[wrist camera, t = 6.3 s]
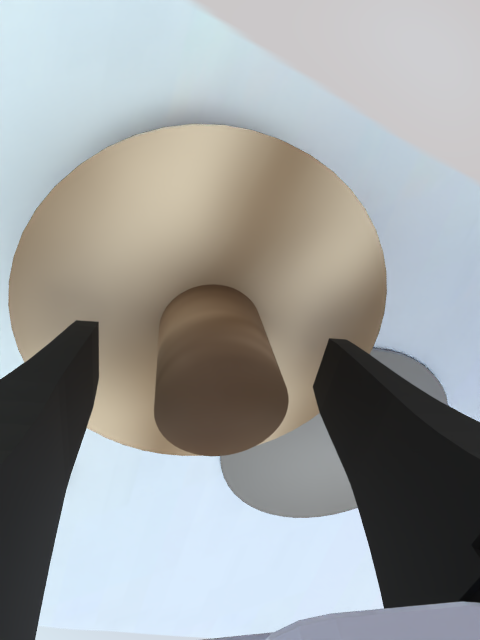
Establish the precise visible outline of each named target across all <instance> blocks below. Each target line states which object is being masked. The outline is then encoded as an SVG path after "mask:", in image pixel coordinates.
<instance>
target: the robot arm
mask: <svg viewBox="0 0 480 640" xmlns="http://www.w3.org/2000/svg"><path fill="white" fill-rule="evenodd" d="M98 381H99V322H95V321H81V320H76V321H75V322H73V323H72V324H71V325H70V326H68V327H67V328H66V329H65V330H64V331H63V332H62V333H60V334H59V335H58V336H57V337H56V338H55V339H53V340H52V341H51V342H50V343H49V344H47V345H46V346H45V347H44V348H42V349H41V350H40V351H39V352H37V353H36V354H35V355H34V356H33V357H31V358H30V359H29V360H27V361H26V362H25V363H23V364H22V365H20V366H19V367H18V368H16V369H15V370H13V371H12V372H11V373H9V374H8V375H6V376H5V377H3V378H2V379H0V640H35V636H36V631H37V626H38V621H39V615H40V610H41V605H42V600H43V595H44V591H45V586H46V581H47V576H48V571H49V566H50V561H51V556H52V552H53V547H54V542H55V538H56V533H57V528H58V524H59V519H60V515H61V511H62V506H63V502H64V497H65V493H66V489H67V486H68V482H69V479H70V475H71V472H72V469H73V466H74V463H75V460H76V457H77V454H78V451H79V449H80V446H81V443H82V440H83V437H84V434H85V431H86V428H87V425H88V422H89V419H90V416H91V413H92V410H93V406H94V401H95V396H96V391H97V386H98ZM313 390H314V394H315V398H316V402H317V405H318V409H319V412H320V415H321V417H322V420H323V422H324V424H325V427H326V429H327V431H328V434H329V436H330V438H331V441H332V443H333V445H334V447H335V450H336V452H337V454H338V456H339V459H340V461H341V463H342V465H343V468H344V470H345V472H346V475H347V477H348V480H349V482H350V485H351V488H352V491H353V494H354V497H355V500H356V503H357V507H358V510H359V513H360V516H361V519H362V523H363V526H364V530H365V533H366V537H367V540H368V544H369V547H370V551H371V555H372V559H373V563H374V567H375V571H376V575H377V579H378V583H379V587H380V592H381V596H382V601H383V606H384V609H376V610H365V611H354V612H343V613H333V614H327V615H322V616H318V617H313V618H308V619H304V620H299V621H297V622H295V623H293V624H290V625H288V626H286V627H284V628H282V629H280V630H278V631H276V632H273V633H263V634H253V635H243V636H234V637H224V638H214V639H204V640H480V422H478V421H476V420H474V419H472V418H470V417H468V416H466V415H464V414H462V413H460V412H458V411H457V410H455V409H453V408H451V407H449V406H448V405H446V404H444V403H442V402H440V401H439V400H437V399H435V398H434V397H432V396H430V395H429V394H427V393H425V392H424V391H422V390H421V389H419V388H418V387H416V386H414V385H413V384H411V383H410V382H408V381H407V380H405V379H404V378H402V377H401V376H399V375H398V374H397V373H395V372H394V371H392V370H391V369H389V368H388V367H387V366H385V365H384V364H382V363H381V362H380V361H378V360H377V359H375V358H374V357H373V356H371V355H370V354H368V353H367V352H365V351H364V350H362V349H361V348H360V347H358V346H356V345H355V344H353V343H352V342H350V341H348V340H346V339H333V338H329V340H328V343H327V346H326V349H325V352H324V355H323V358H322V361H321V364H320V366H319V369H318V372H317V375H316V378H315V381H314V384H313Z"/></svg>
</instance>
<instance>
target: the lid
mask: <svg viewBox="0 0 480 640" xmlns="http://www.w3.org/2000/svg"><path fill="white" fill-rule="evenodd" d="M386 294H387V284H386V267H385V262H384V256H383V250H382V247H381V244H380V241H379V238H378V235H377V232H376V229H375V227H374V225H373V223H372V222H371V220H370V218H369V216H368V214H367V212H366V210H365V208H364V207H363V205H362V204H361V203H360V201H359V200H358V199H357V197H356V196H355V195H354V193H353V192H352V190H351V189H350V188H349V187H348V186H347V185H346V184H345V183H344V182H343V181H342V180H341V179H340V178H339V177H338V176H337V175H336V174H335V173H334V172H333V171H332V170H330V169H329V168H328V167H326V166H325V165H323V164H322V163H321V162H319V161H318V160H317V159H315V158H314V157H312V156H311V155H309V154H307V153H305V152H304V151H302V150H300V149H298V148H296V147H294V146H292V145H290V144H288V143H286V142H284V141H282V140H280V139H277V138H274V137H271V136H268V135H265V134H262V133H259V132H257V131H254V130H250V129H244V128H239V127H233V126H227V125H216V124H188V125H179V126H170V127H163V128H159V129H155V130H152V131H148V132H144V133H140V134H137V135H134V136H131V137H129V138H127V139H125V140H122V141H120V142H118V143H115V144H113V145H111V146H108V147H107V148H105V149H104V150H102V151H100V152H99V153H97V154H96V155H94V156H92V157H91V158H89V159H88V160H86V161H85V162H83V163H82V164H80V165H79V166H78V167H77V168H75V169H74V170H73V171H72V172H71V173H70V174H69V175H67V176H66V177H65V178H64V179H63V180H62V181H61V182H59V183H58V184H57V185H56V186H55V187H54V188H53V189H52V191H51V192H50V193H49V194H48V195H47V197H46V198H45V199H44V200H43V201H42V203H41V204H40V205H39V206H38V208H37V209H36V210H35V212H34V214H33V216H32V217H31V219H30V221H29V223H28V224H27V226H26V228H25V229H24V231H23V233H22V236H21V239H20V241H19V244H18V247H17V249H16V252H15V255H14V258H13V263H12V268H11V273H10V279H9V303H8V306H9V313H10V319H11V326H12V331H13V334H14V337H15V340H16V343H17V347H18V350H19V352H20V354H21V356H22V358H23V360H24V362H26V361H27V360H29V359H30V358H31V357H33V356H34V355H35V354H36V353H37V352H39V351H40V350H41V349H42V348H44V347H45V346H46V345H47V344H49V343H50V342H51V341H52V340H53V339H55V338H56V337H57V336H58V335H59V334H60V333H62V332H63V331H64V330H65V329H66V328H67V327H68V326H70V325H71V324H72V323H73V322H75V321H76V320H81V321H95V322H99V381H98V386H97V391H96V396H95V401H94V406H93V410H92V413H91V416H90V419H89V422H88V425H87V428H88V429H90V430H92V431H94V432H96V433H98V434H100V435H101V436H103V437H105V438H108V439H110V440H113V441H115V442H118V443H120V444H123V445H126V446H130V447H133V448H137V449H140V450H144V451H150V452H155V453H160V454H170V455H181V456H202V455H203V456H224V455H231V454H235V453H239V452H242V451H245V450H248V449H250V448H252V447H254V446H257V445H260V444H263V443H265V442H268V441H271V440H274V439H276V438H278V437H280V436H282V435H284V434H287V433H289V432H291V431H293V430H294V429H296V428H298V427H299V426H301V425H303V424H304V423H306V422H308V421H309V420H311V419H312V418H314V417H315V416H316V415H318V414H319V413H320V412H319V409H318V405H317V402H316V398H315V394H314V390H313V384H314V381H315V378H316V375H317V372H318V369H319V366H320V364H321V361H322V358H323V355H324V352H325V349H326V346H327V343H328V340H329V338H333V339H346V340H348V341H350V342H352V343H353V344H355V345H356V346H358V347H360V348H361V349H362V350H364V351H365V352H367V353H368V354H370V352H371V351H372V348H373V346H374V344H375V341H376V339H377V336H378V334H379V331H380V327H381V323H382V319H383V316H384V311H385V302H386Z"/></svg>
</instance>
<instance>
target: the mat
mask: <svg viewBox="0 0 480 640" xmlns="http://www.w3.org/2000/svg"><path fill="white" fill-rule="evenodd" d="M370 355H371V356H373V357H374V358H375V359H377V360H378V361H380V362H381V363H382V364H384V365H385V366H387V367H388V368H389V369H391V370H392V371H394V372H395V373H397V374H398V375H399V376H401V377H402V378H404V379H405V380H407V381H408V382H410V383H411V384H413V385H414V386H416V387H418V388H419V389H421V390H422V391H424V392H425V393H427V394H429V395H430V396H432V397H434V398H435V399H437V400H439V401H440V402H442V403H444V404H446V405H448V403H447V398H446V394H445V392H444V390H443V387H442V386H441V384H440V383H439V381H438V380H437V378H436V377H435V376H434V375H433V374H432V373H431V372H430V371H429V370H428V369H427V368H426V367H425V366H424V365H422V364H421V363H419V362H418V361H416V360H415V359H413V358H411V357H408V356H406V355H404V354H401V353H398V352H394V351H390V350H385V349H377V348H372V351H371V352H370ZM220 459H221V468H222V472H223V475H224V478H225V480H226V482H227V484H228V486H229V487H230V489H231V490H232V491H233V493H234V494H235V495H236V496H237V497H238V498H240V499H241V500H242V501H243V502H245V503H246V504H248V505H249V506H251V507H253V508H255V509H258V510H260V511H263V512H266V513H269V514H273V515H278V516H283V517H293V518H309V517H321V516H327V515H333V514H337V513H342V512H345V511H349V510H352V509H355V508H358V507H357V503H356V500H355V497H354V494H353V491H352V488H351V485H350V482H349V480H348V477H347V475H346V472H345V470H344V468H343V465H342V463H341V461H340V459H339V456H338V454H337V452H336V450H335V447H334V445H333V443H332V441H331V438H330V436H329V434H328V431H327V429H326V427H325V424H324V422H323V420H322V417H321V415H320V413H319V414H318V415H316V416H315V417H314V418H312V419H311V420H309V421H308V422H306V423H304V424H303V425H301V426H299V427H298V428H296V429H294V430H293V431H291V432H289V433H287V434H284V435H282V436H280V437H278V438H276V439H274V440H271V441H268V442H265V443H263V444H260V445H257V446H254V447H252V448H250V449H248V450H245V451H242V452H239V453H235V454H231V455H224V456H220Z"/></svg>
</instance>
